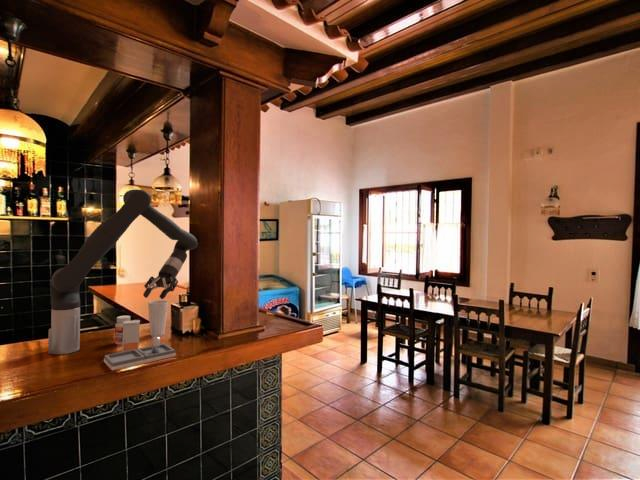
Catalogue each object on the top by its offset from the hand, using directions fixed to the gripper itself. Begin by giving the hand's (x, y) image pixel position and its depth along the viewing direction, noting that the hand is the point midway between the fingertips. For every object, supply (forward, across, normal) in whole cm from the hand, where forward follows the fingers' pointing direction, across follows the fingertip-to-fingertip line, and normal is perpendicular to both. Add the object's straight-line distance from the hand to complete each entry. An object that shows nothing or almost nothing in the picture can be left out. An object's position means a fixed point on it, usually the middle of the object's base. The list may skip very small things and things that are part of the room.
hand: (152, 297), depth 151 cm
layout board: (+27, +10, +1) cm, 29 cm away
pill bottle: (+18, -11, +11) cm, 23 cm away
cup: (+7, -6, +21) cm, 23 cm away
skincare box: (+22, 0, +6) cm, 23 cm away
